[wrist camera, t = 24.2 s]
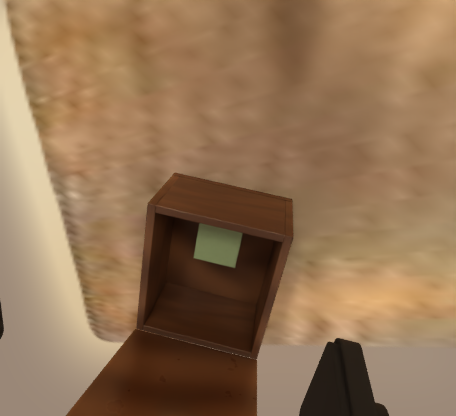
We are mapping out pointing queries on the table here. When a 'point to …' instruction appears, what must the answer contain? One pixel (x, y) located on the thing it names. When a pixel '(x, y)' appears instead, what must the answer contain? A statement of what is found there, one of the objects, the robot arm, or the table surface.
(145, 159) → the table surface
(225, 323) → the chest
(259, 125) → the table surface
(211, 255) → the block
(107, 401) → the lid
